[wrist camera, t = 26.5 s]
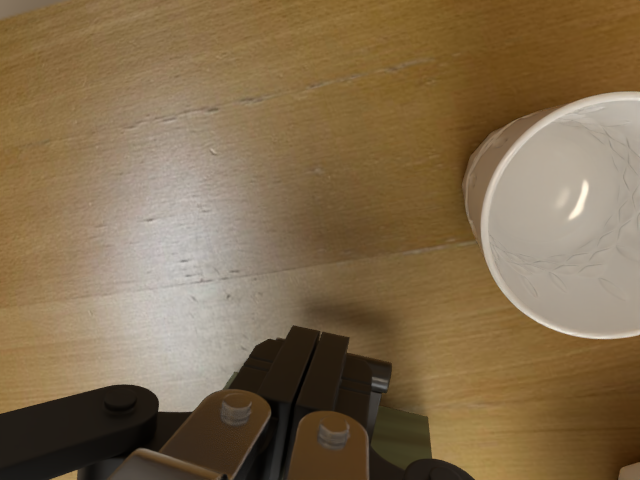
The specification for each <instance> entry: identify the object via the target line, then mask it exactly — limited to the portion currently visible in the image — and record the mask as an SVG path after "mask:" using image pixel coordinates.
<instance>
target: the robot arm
mask: <svg viewBox="0 0 640 480" xmlns="http://www.w3.org/2000/svg"><path fill="white" fill-rule="evenodd" d="M319 337H320V331H317V330H312V329H308V328H303V327H299V326H294V325H293V326H292V328H291V330H290V331H289V333H288V335H287V337H286V339H285V341H284V342H281V341H276V340H272V339H268V340H266V341H264V342H262V343H260V344H258V345H256V346H255V348H254V349H253V351H252V352H251V354H250V355H249V358H248V359H247V360H246V362H245V363H244V366H242V368H241V369H240V371H239V372H238V374H237V375H236V377H235V379H234V380H233V382H232V383H231V385H230V386H229V388H228V389H226V390H221V391H217V392H214V393H212V394H210V395H209V396H207V397H206V398H205V399H204V400H203V401H202V402H201V403H200V405H199V406H198V407H197V408H196V409H195V410H194V411H193V412H158V408H159V401H158V398H157V397H156V395H155V394H154V393H153V392H151V391H150V390H148V389H146V388H143V387H140V386H135V385H112V386H107V387H103V388H99V389H96V390H92V391H88V392H84V393H80V394H76V395H72V396H68V397H64V398H60V399H57V400H53V401H49V402H45V403H41V404H37V405H33V406H29V407H25V408H22V409H18V410H14V411H10V412H6V413H2V414H0V480H49V479H52V478H55V477H58V476H61V475H64V474H66V473H69V472H72V471H75V470H78V474H77V480H282V479H283V480H475V479H474V478H473V477H471V476H470V475H469V474H468V473H467V472H465V471H464V470H462V469H461V468H459V467H457V466H455V465H453V464H451V463H448V462H445V461H442V460H437V459H419V460H416V461H413V462H412V463H410V464H409V465H408V466H407V468H406V470H404V469H402V468H400V467H398V466H396V465H394V464H392V463H390V462H388V461H387V460H385V459H384V458H382V457H381V456H380V455H379V454H378V453H377V452H376V451H375V450H374V449H373V448H372V446H371V445H370V443H369V439H368V434H367V424H368V415H369V406H370V395H371V387H372V386H371V385H372V377H373V371H372V370H371V368H370V366H369V365H368V363H367V361H366V360H362V359H357V358H353V357H348V356H346V354H347V349H348V344H349V337H345V336H340V335H335V334H331V333H326V332H322V334H321V337H320V340H319Z"/></svg>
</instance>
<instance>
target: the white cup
mask: <svg viewBox="0 0 640 480" xmlns="http://www.w3.org/2000/svg"><path fill="white" fill-rule="evenodd" d="M462 190H463V195H464V201H465V209H466V213H467V217H468V220H469V223H470V226H471V229H472V232H473V235H474V237H475V239H476V242H477V244H478V246H479V248H480V250H481V252H482V254H483V257H484V259H485V261H486V263H487V266H488V268H489V270H490V272H491V274H492V276H493V278H494V280H495V282H496V283H497V285H498V286H499V288H500V289H501V291H502V292H503V293H504V295H505V296H506V297H507V298H508V299H509V300H510V301H511V302H512V303H513V304H514V305H515V306H516V307H517V308H518V309H519V310H520V311H522V312H523V313H524V314H526V315H527V316H528V317H530V318H531V319H533V320H535V321H536V322H538V323H540V324H542V325H544V326H546V327H548V328H550V329H553V330H555V331H558V332H561V333H564V334H568V335H572V336H577V337H583V338H591V339H618V338H626V337H632V336H637V335H640V92H634V91H626V92H612V93H605V94H599V95H595V96H591V97H587V98H584V99H580V100H577V101H573V102H569V103H566V104H562V105H558V106H554V107H550V108H547V109H543V110H540V111H537V112H534V113H531V114H529V115H526V116H523V117H521V118H518V119H516V120H514V121H512V122H511V123H509V124H508V125H505V126H503V127H501V128H499V129H497V130H495V131H493V132H491V133H490V134H489V135H488V136H487V137H486V139H485V140H484V141H483V142H482V143H481V144H480V146H479V147H478V148H477V149H476V150H475V151H474V152H473V154H472V155H471V156H470V158H469V162H468V165H467V169H466V172H465V176H464V179H463V183H462Z"/></svg>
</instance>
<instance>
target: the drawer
mask: <svg viewBox="0 0 640 480" xmlns="http://www.w3.org/2000/svg"><path fill="white" fill-rule="evenodd" d="M276 341H281V342H284V341H285V339H283V338H277V339H276ZM346 356H348V357H353V358H357V359H362V360H366V361H367V363H368V365H369V366H370V368H371V370H372V371H373V377H372V385H371V386H372V387H371V395H370V406H369V415H368V424H367V434H368V439H369V443H370V445H371V446H372V448H373V449H374V450H375V451H376V452H377V453H378V454H379V455H380V456H381V457H382V458H384V459H385V460H387V461H388V462H390V463H392V464H394V465H396V466H398V467H400V468H402V469H404V470H406V468H407V466H408V465H409V464H410V463H412V462H413V461H416V460H419V459H432V453H431V443H430V433H429V423H428V417H427V416H422V415H418V414H414V413H410V412H405V411H401V410H397V409H392V408H388V407H384V406H380V400H381V396H382V393H387V391H388V388H389V383H390V378H391V372H392V363H391V362H387V361H382V360H378V359H373V358H369V357H364V356H360V355H355V354H351V353H347V354H346ZM237 374H238V372H234V373H233V375H232V376H231V378H230V379H229V381H228V382H227V384H226V385H225V387H224V388H223V390H226V389H228V388H229V386H230V385H231V383H232V382H233V380H234V379H235V377H236V375H237ZM282 480H283V479H282Z"/></svg>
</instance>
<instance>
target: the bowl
mask: <svg viewBox="0 0 640 480" xmlns="http://www.w3.org/2000/svg"><path fill="white" fill-rule="evenodd" d="M618 480H640V462H638V463H635V464H631V465H628V466H625V467H622V468H621V470H620V474H619V478H618Z"/></svg>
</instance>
